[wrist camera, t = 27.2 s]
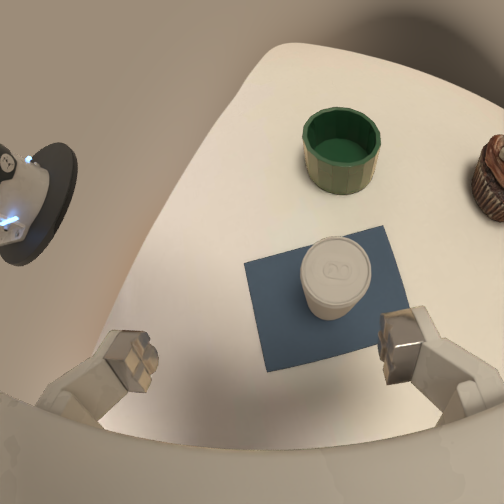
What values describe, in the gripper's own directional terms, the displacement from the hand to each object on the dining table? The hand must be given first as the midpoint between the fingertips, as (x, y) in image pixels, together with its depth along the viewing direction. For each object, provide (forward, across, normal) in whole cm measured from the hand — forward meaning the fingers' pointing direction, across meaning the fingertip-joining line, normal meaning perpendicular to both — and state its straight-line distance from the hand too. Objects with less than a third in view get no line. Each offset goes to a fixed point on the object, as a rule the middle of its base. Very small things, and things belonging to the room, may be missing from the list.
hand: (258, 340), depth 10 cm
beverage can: (+18, -4, +12) cm, 22 cm away
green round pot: (+29, -7, +1) cm, 30 cm away
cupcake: (+25, -28, +5) cm, 38 cm away
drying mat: (+18, -4, +12) cm, 22 cm away
